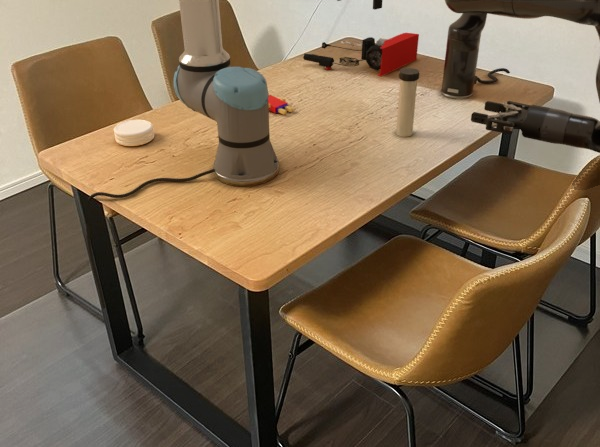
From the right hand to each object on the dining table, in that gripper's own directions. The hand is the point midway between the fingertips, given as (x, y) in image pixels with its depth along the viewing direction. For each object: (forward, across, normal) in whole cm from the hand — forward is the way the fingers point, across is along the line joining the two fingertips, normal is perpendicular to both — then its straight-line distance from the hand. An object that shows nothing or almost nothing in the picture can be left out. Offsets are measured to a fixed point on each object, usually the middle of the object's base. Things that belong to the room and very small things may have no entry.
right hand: (478, 110), depth 148 cm
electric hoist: (+58, -45, +9) cm, 74 cm away
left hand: (+40, -11, -18) cm, 46 cm away
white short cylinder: (+76, +41, +10) cm, 87 cm away
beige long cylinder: (+19, 0, +10) cm, 22 cm away
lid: (+19, 0, -6) cm, 20 cm away
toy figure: (+58, +5, +10) cm, 59 cm away
